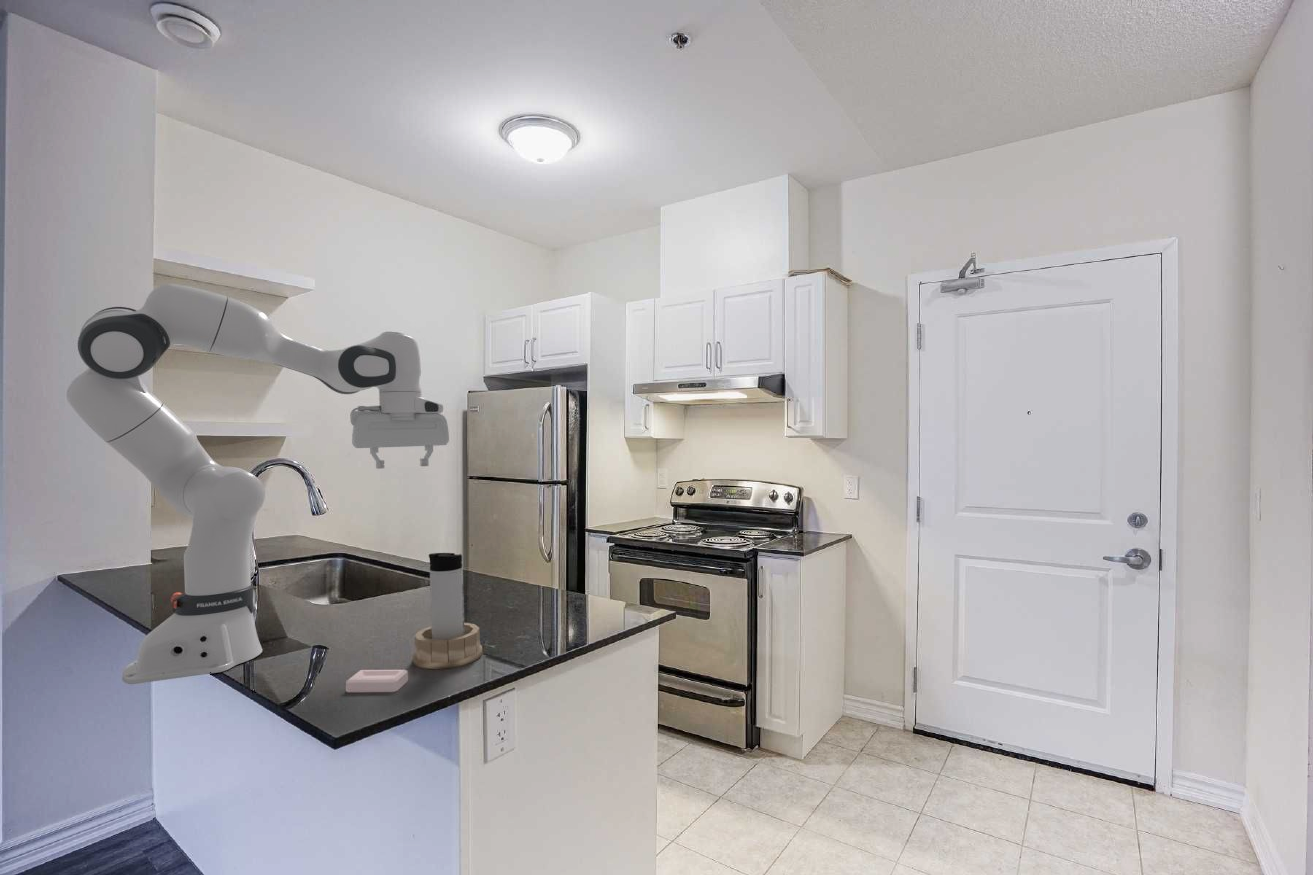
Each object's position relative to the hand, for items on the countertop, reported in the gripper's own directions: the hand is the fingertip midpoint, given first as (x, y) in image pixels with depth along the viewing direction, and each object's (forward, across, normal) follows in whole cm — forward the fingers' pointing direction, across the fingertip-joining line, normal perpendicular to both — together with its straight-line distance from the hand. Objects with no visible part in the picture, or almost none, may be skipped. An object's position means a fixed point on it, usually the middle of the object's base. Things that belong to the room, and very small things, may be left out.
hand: (402, 467), depth 145 cm
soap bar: (+38, -11, -29) cm, 49 cm away
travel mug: (+36, +3, -22) cm, 42 cm away
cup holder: (+37, +3, -22) cm, 43 cm away
